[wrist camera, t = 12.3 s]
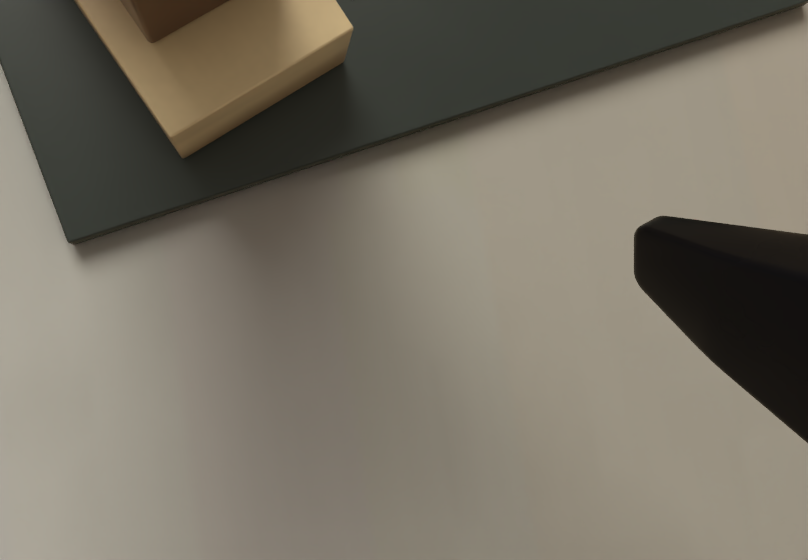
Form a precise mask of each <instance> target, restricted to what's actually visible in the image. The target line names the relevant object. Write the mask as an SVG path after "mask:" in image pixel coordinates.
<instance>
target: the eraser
mask: <svg viewBox="0 0 808 560" xmlns="http://www.w3.org/2000/svg"><path fill="white" fill-rule="evenodd" d="M74 1H75V3H76V4H77V6H78V7H79V9H80V10H81V12H82V13H83V15H84V16H85V17H86V19H87V20H88V22H89V23H90V25H91V26H92V28H93V29H94V31H95V32H96V34H97V35H98V36H99V38H100V39H101V41H102V42H103V44H104V45H105V47H106V48H107V50H108V51H109V53H110V54H111V55H112V57H113V58H114V60H115V61H116V63H117V64H118V66H119V67H120V69H121V70H122V72H123V73H124V74H125V76H126V77H127V79H128V80H129V82H130V83H131V85H132V86H133V88H134V89H135V91H136V92H137V93H138V95H139V96H140V98H141V99H142V101H143V102H144V104H145V105H146V107H147V108H148V110H149V111H150V113H151V114H152V115H153V117H154V118H155V120H156V121H157V123H158V124H159V126H160V127H161V129H162V130H163V132H164V133H165V134H166V136H167V137H168V139H169V140H170V142H171V143H172V145H173V146H174V148H175V149H176V151H177V152H178V153H179V155H180V156H181V158H186V157H188V156H189V155H191V154H193V153H194V152H196V151H198V150H199V149H201V148H202V147H204V146H206V145H207V144H209V143H211V142H212V141H214V140H216V139H217V138H219V137H221V136H222V135H224V134H226V133H227V132H229V131H231V130H232V129H234V128H235V127H237V126H239V125H240V124H242V123H244V122H245V121H247V120H249V119H250V118H252V117H254V116H255V115H257V114H259V113H260V112H262V111H264V110H265V109H267V108H268V107H270V106H272V105H273V104H275V103H277V102H278V101H280V100H282V99H283V98H285V97H287V96H288V95H290V94H292V93H293V92H295V91H296V90H298V89H300V88H301V87H303V86H305V85H306V84H308V83H310V82H311V81H313V80H315V79H316V78H318V77H320V76H321V75H323V74H325V73H326V72H328V71H329V70H331V69H333V68H334V67H336V66H338V65H339V64H341V63H343V62H344V60H345V57H346V53H347V50H348V46H349V43H350V39H351V35H352V32H353V26H352V24H351V23H350V21H349V20H348V18H347V17H346V15H345V14H344V12H343V11H342V9H341V7H340V6H339V4H338V3H337V1H336V0H74Z"/></svg>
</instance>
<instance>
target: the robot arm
mask: <svg viewBox="0 0 808 560" xmlns="http://www.w3.org/2000/svg"><path fill="white" fill-rule="evenodd" d="M634 275H635V278H636V280H637V283H638V284H639V286H640V287H641V288H642V290H643V291H644V292H645V293H646V294H647V295H648V296H649V297H650V298H651V299H652V300H653V301H654V302H655V303H656V304H657V305H658V306H659V307H660V308H661V310H662V311H663V312H664V313H665V314H666V315H667V316H668V317H669V318H670V319H671V320H672V321H673V322H674V323H675V324H676V325H677V326H678V327H679V328H680V329H681V330H682V331H683V332H684V333H685V335H686V336H687V337H688V338H689V339H690V340H691V341H692V342H693V343H694V344H695V345H696V346H697V347H698V348H699V349H700V350H701V351H702V352H703V353H704V354H705V355H706V356H707V357H708V358H709V359H710V360H711V361H712V362H713V363H715V364H716V365H717V366H718V367H719V368H720V369H721V370H722V371H723V372H725V373H726V374H727V375H728V376H729V377H731V378H732V379H733V380H734V381H735V382H736V383H738V384H739V385H740V386H741V387H742V388H743V389H745V390H746V391H747V392H748V393H749V394H751V395H752V396H753V397H754V398H755V399H756V400H758V401H759V402H760V403H761V404H762V405H763V406H765V407H766V408H767V409H768V410H769V411H771V412H772V413H773V414H774V415H775V416H776V417H778V418H779V419H780V420H781V421H782V422H784V423H785V424H786V425H787V426H788V427H789V428H791V429H792V430H793V431H794V432H795V433H796V434H798V435H799V436H800V437H801V438H802V439H804V440H805V441H806V442H807V443H808V235H807V234H799V233H791V232H784V231H776V230H768V229H761V228H753V227H746V226H738V225H730V224H723V223H715V222H708V221H700V220H692V219H685V218H677V217H670V216H659V217H656V218H654V219H653V220H651V221H649V222H647V223H645V224H643V225H642V226H640V227H639V228H638V229H637V230H636V232H635V235H634Z"/></svg>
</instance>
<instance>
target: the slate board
mask: <svg viewBox="0 0 808 560" xmlns="http://www.w3.org/2000/svg"><path fill="white" fill-rule="evenodd" d="M336 1H337V3H338V4H339V6H340V7H341V9H342V11H343V12H344V14H345V15H346V17H347V18H348V20H349V21H350V23H351V24H352V26H353V32H352V35H351V39H350V43H349V46H348V50H347V53H346V57H345V60H344V62H343V63H341V64H339V65H338V66H336V67H334V68H333V69H331V70H329V71H328V72H326V73H325V74H323V75H321V76H320V77H318V78H316V79H315V80H313V81H311V82H310V83H308V84H306V85H305V86H303V87H301V88H300V89H298V90H296V91H295V92H293V93H292V94H290V95H288V96H287V97H285V98H283V99H282V100H280V101H278V102H277V103H275V104H273V105H272V106H270V107H268V108H267V109H265V110H264V111H262V112H260V113H259V114H257V115H255V116H254V117H252V118H250V119H249V120H247V121H245V122H244V123H242V124H240V125H239V126H237V127H235V128H234V129H232V130H231V131H229V132H227V133H226V134H224V135H222V136H221V137H219V138H217V139H216V140H214V141H212V142H211V143H209V144H207V145H206V146H204V147H202V148H201V149H199V150H198V151H196V152H194V153H193V154H191V155H189V156H188V157H186V158H181V156H180V155H179V153H178V152H177V151H176V149H175V148H174V146H173V145H172V143H171V142H170V140H169V139H168V137H167V136H166V134H165V133H164V132H163V130H162V129H161V127H160V126H159V124H158V123H157V121H156V120H155V118H154V117H153V115H152V114H151V113H150V111H149V110H148V108H147V107H146V105H145V104H144V102H143V101H142V99H141V98H140V96H139V95H138V93H137V92H136V91H135V89H134V88H133V86H132V85H131V83H130V82H129V80H128V79H127V77H126V76H125V74H124V73H123V72H122V70H121V69H120V67H119V66H118V64H117V63H116V61H115V60H114V58H113V57H112V55H111V54H110V53H109V51H108V50H107V48H106V47H105V45H104V44H103V42H102V41H101V39H100V38H99V36H98V35H97V34H96V32H95V31H94V29H93V28H92V26H91V25H90V23H89V22H88V20H87V19H86V17H85V16H84V15H83V13H82V12H81V10H80V9H79V7H78V6H77V4H76V3H75V1H74V0H0V63H1V65H2V68H3V71H4V73H5V76H6V79H7V81H8V84H9V87H10V89H11V92H12V95H13V97H14V100H15V103H16V105H17V108H18V111H19V113H20V116H21V119H22V121H23V124H24V127H25V129H26V132H27V135H28V137H29V140H30V143H31V145H32V148H33V151H34V153H35V156H36V159H37V161H38V164H39V167H40V169H41V172H42V175H43V177H44V180H45V183H46V185H47V188H48V191H49V193H50V196H51V199H52V201H53V204H54V207H55V209H56V212H57V215H58V217H59V220H60V223H61V225H62V228H63V231H64V233H65V236H66V239H67V241H68V243H71V244H77V243H80V242H83V241H86V240H89V239H92V238H95V237H98V236H101V235H104V234H107V233H110V232H113V231H116V230H119V229H122V228H125V227H129V226H132V225H135V224H138V223H141V222H144V221H147V220H150V219H153V218H156V217H159V216H162V215H165V214H168V213H171V212H174V211H177V210H180V209H183V208H186V207H189V206H193V205H196V204H199V203H202V202H205V201H208V200H211V199H214V198H217V197H220V196H223V195H226V194H229V193H232V192H235V191H238V190H241V189H244V188H247V187H250V186H254V185H257V184H260V183H263V182H266V181H269V180H272V179H275V178H278V177H281V176H284V175H287V174H290V173H293V172H296V171H299V170H302V169H305V168H308V167H311V166H314V165H318V164H321V163H324V162H327V161H330V160H333V159H336V158H339V157H342V156H345V155H348V154H351V153H354V152H357V151H360V150H363V149H366V148H369V147H372V146H375V145H378V144H382V143H385V142H388V141H391V140H394V139H397V138H400V137H403V136H406V135H409V134H412V133H415V132H418V131H421V130H424V129H427V128H430V127H433V126H436V125H439V124H442V123H446V122H449V121H452V120H455V119H458V118H461V117H464V116H467V115H470V114H473V113H476V112H479V111H482V110H485V109H488V108H491V107H494V106H497V105H500V104H503V103H506V102H510V101H513V100H516V99H519V98H522V97H525V96H528V95H531V94H534V93H537V92H540V91H543V90H546V89H549V88H552V87H555V86H558V85H561V84H564V83H567V82H571V81H574V80H577V79H580V78H583V77H586V76H589V75H592V74H595V73H598V72H601V71H604V70H607V69H610V68H613V67H616V66H619V65H622V64H625V63H628V62H631V61H635V60H638V59H641V58H644V57H647V56H650V55H653V54H656V53H659V52H662V51H665V50H668V49H671V48H674V47H677V46H680V45H683V44H686V43H689V42H692V41H695V40H699V39H702V38H705V37H708V36H711V35H714V34H717V33H720V32H723V31H726V30H729V29H732V28H735V27H738V26H741V25H744V24H747V23H750V22H753V21H756V20H759V19H763V18H766V17H769V16H772V15H775V14H778V13H781V12H784V11H787V10H790V9H793V8H796V7H799V6H802V5H805V4H806V3H808V0H336Z"/></svg>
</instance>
